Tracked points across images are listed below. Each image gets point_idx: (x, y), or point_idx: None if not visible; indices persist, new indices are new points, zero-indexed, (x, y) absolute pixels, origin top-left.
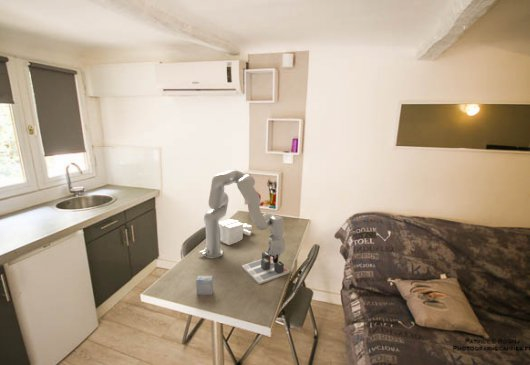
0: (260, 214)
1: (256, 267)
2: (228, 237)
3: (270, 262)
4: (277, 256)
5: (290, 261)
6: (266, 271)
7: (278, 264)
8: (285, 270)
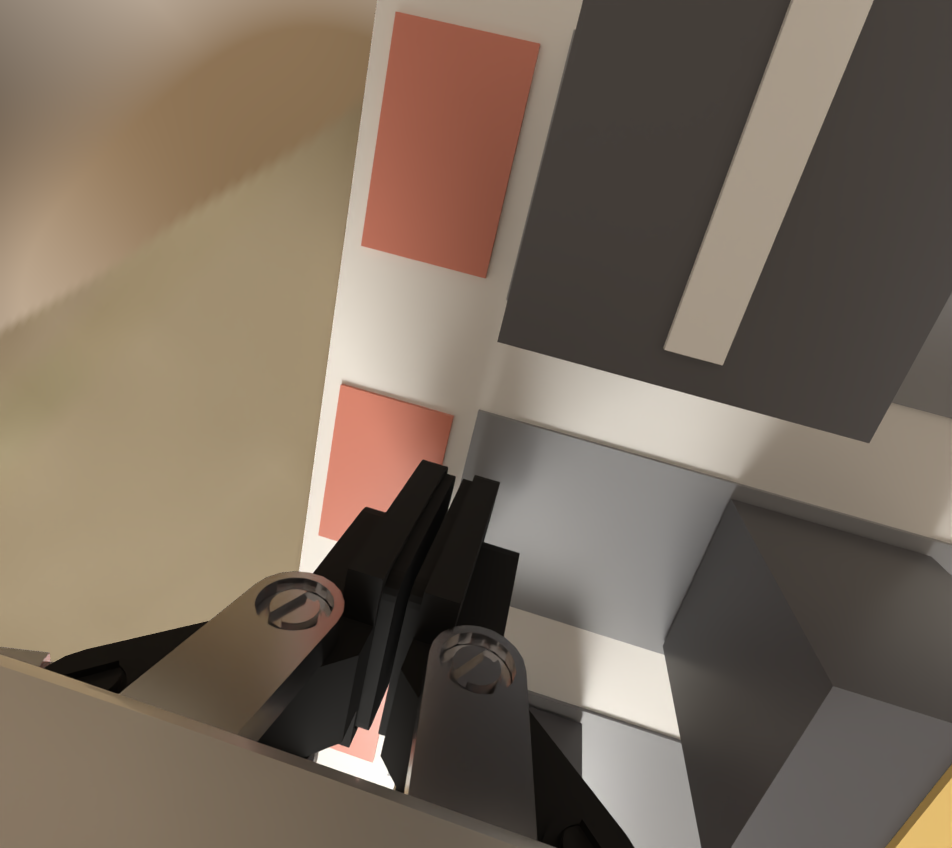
0: None
1: None
2: None
3: None
4: (328, 646)
5: (38, 340)
6: (932, 491)
7: (884, 159)
8: (478, 70)
